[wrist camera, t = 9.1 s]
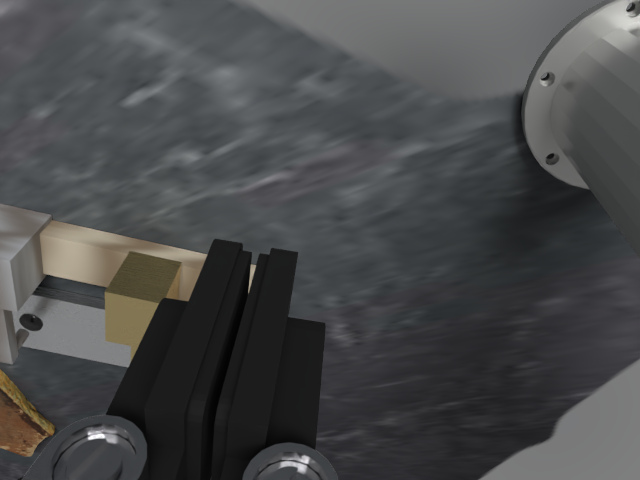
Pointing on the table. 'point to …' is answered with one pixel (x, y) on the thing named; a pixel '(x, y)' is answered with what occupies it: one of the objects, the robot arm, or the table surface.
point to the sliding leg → (138, 296)
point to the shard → (20, 421)
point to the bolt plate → (69, 326)
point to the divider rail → (67, 263)
